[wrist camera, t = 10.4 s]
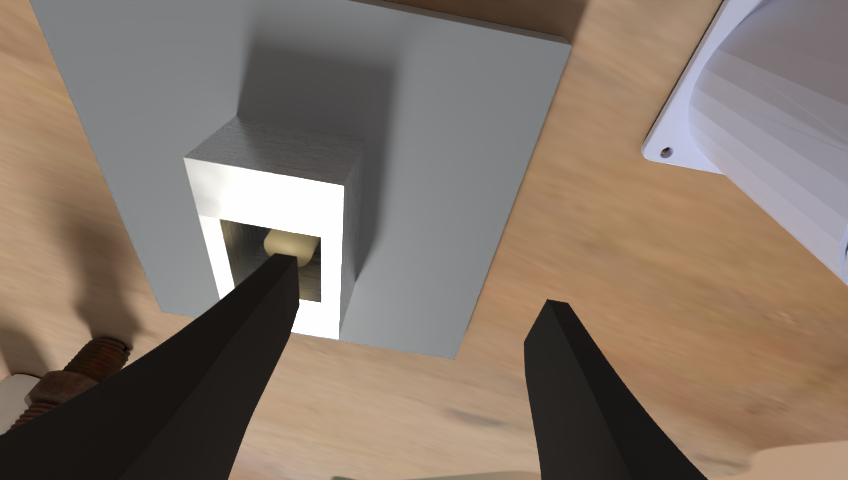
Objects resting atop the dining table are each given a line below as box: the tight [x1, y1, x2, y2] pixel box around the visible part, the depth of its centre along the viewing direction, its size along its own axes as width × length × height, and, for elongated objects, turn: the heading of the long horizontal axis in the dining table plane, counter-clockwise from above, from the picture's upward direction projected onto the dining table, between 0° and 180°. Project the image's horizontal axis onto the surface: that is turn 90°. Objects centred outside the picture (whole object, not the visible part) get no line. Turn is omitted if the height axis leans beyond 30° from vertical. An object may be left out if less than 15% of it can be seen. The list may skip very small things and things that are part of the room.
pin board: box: [29, 0, 572, 360], centre depth 19 cm, size 20×20×4 cm
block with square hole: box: [183, 115, 366, 339], centre depth 18 cm, size 6×9×4 cm, turn 171°
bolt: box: [6, 338, 130, 432], centre depth 25 cm, size 6×5×15 cm
